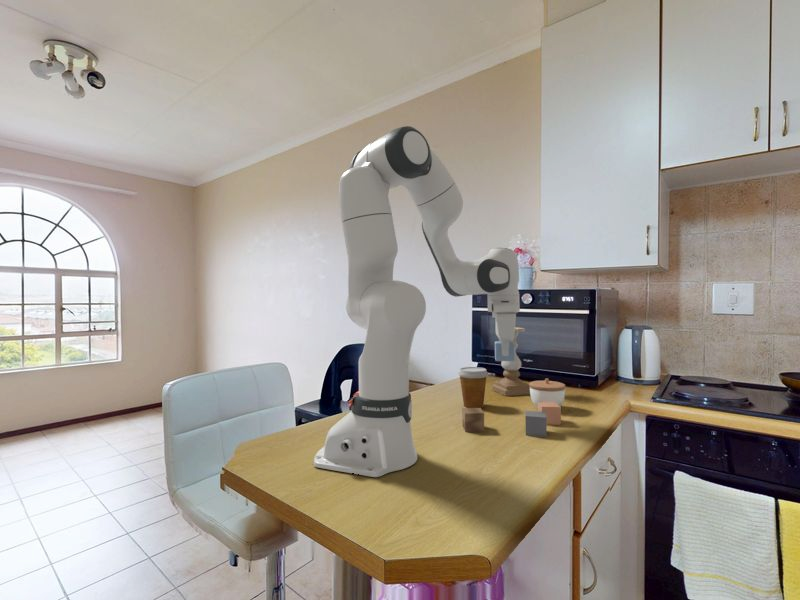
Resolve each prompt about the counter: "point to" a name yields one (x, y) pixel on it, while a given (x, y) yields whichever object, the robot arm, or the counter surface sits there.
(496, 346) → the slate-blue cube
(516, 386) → the candle holder
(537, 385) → the lidded jar
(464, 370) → the disposable coffee cup
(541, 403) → the terracotta cube
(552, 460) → the counter surface
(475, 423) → the walnut cube
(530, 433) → the charcoal cube
